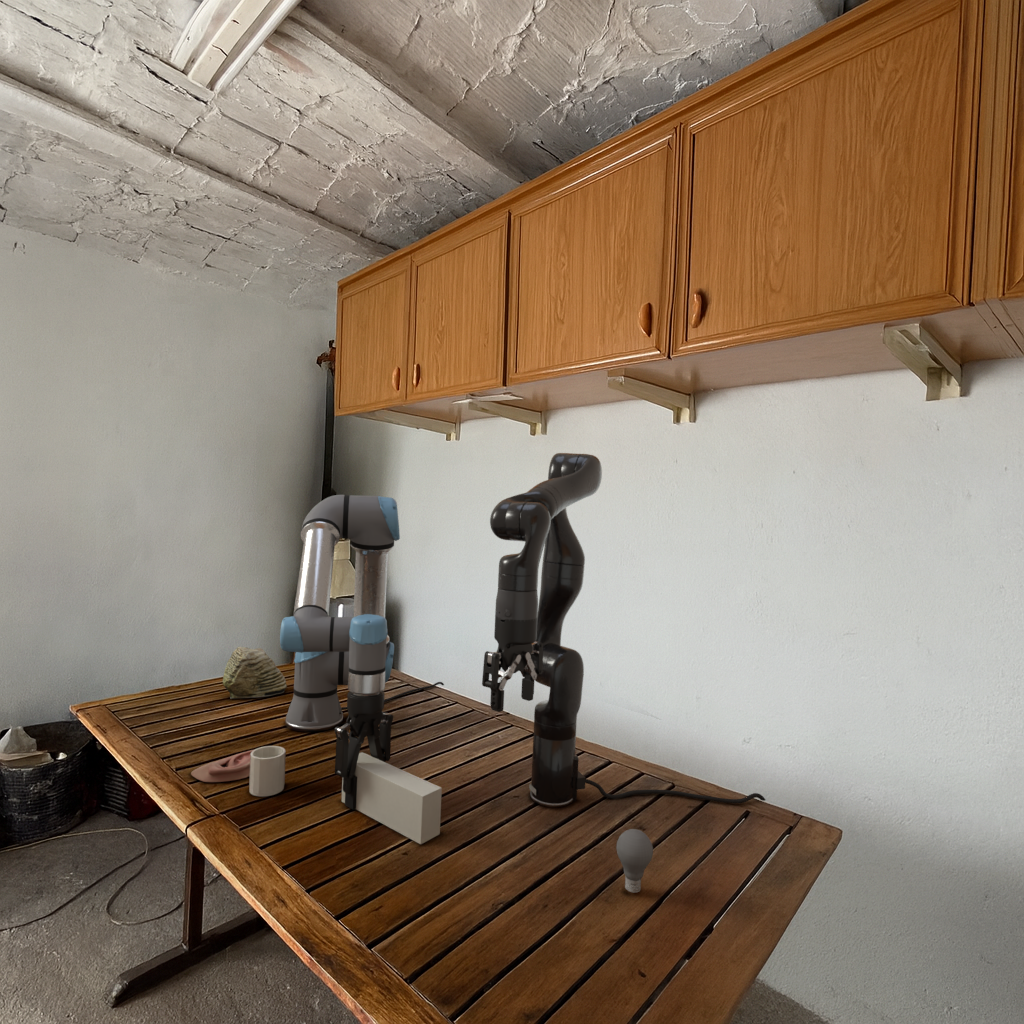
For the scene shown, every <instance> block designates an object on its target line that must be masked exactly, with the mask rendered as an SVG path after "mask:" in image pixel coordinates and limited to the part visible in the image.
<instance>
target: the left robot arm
mask: <svg viewBox="0 0 1024 1024" xmlns="http://www.w3.org/2000/svg"><path fill="white" fill-rule="evenodd" d="M300 539H301V541H302V543H303V545H302V553H301V559H300V567H299V573H298V580H297V585H296V586H297V588H296V592H295V593H296V594H295V601H294V607H293V608H294V609H293V615H291V616H286V617H283V619H282V620H281V623H280V631H279V645H280V649H281V650H282V651H283V652H289V653H295V655H294V660H293V663H294V674H293V675H294V680H293V695H292V696H293V697H292V699H291V702H290V704H289V706H288V711H287V713H286V715H285V726H286V728H287V729H289V730H291V731H294V732H295V731H296V732H301V733H316V732H325V731H329V730H332V729H334V734H335V738H336V739H335V741H336V742H335V760H334V774H335V775H336V776H338V777H340V778H341V779H342V778H343V791H344V792H345V803H344V806H345V807H347V808H349V809H350V810H356V796H357V776H355V775H354V773H355V769H356V765H357V761H358V756H359V753H361V748H362V744H364V742H365V738H366V739H367V743H368V744H367V745H368V748H369V753H370V754H369V755H370V756H372V757H374V758H376V759H379V760H381V761H383V762H385V763H387V762H390V760H391V749H392V748H391V745H392V724H393V721H394V715H393V714H391V713H388V712H385V711H383V710H384V709H385V703H387V702H390V701H392V700H394V699H397V698H400V697H402V696H405V695H407V694H410V693H415V692H419V691H423V690H427V689H431V688H434V687H436V686H438V685H441V686H445V684H444V682H443V681H438V682H435V683H434V684H432V685H431V684H430V685H427V686H423V687H418V688H413V689H409V690H406V691H403V692H401V693H398V694H396V695H392V696H391V697H388V698H386V699H385V691H384V690H385V689H386V683H388V681H389V680H390V677H391V673H392V669H393V664H394V663H393V662H394V654H395V643H394V642H392V641H390V636H389V634H388V621H387V619H386V606H387V605H386V603H387V585H388V584H387V582H388V562H389V552H390V551H391V550H392V549H394V548H395V542H397V541H400V539H401V535H400V522H399V511H398V503H397V501H396V499H395V498H393V497H389V496H380V495H360V494H359V495H357V494H356V495H355V494H354V495H353V494H336V495H334V494H333V495H331V496H328V497H326V498H324V499H323V500H321V501H319V502H318V503H317V504H315V506H313V507H312V508H311V509H310V511H309V512H308V513H307V515H306V516H305V517H304V520H303V522H302V525H301V529H300ZM340 539H345V540H347V539H348V540H350V547H351V548H352V549H353V550H354V551H355V563H354V564H355V567H354V573H355V574H354V595H353V616H329V615H330V614H329V612H330V603H331V601H330V600H331V592H332V582H333V581H332V580H333V571H334V560H335V549H336V545H338V543H339V541H340ZM338 686H347V690H348V691H349V692H347V699H346V706H341V702H340V699H339V695H338ZM344 710H347V713H348V714H347V715H348V716H347V718H346V722H345V723H344V724H343V725H342V723H343V722H344V714H343V711H344ZM340 725H342V726H340Z"/></svg>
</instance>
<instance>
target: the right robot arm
mask: <svg viewBox="0 0 1024 1024" xmlns="http://www.w3.org/2000/svg"><path fill="white" fill-rule="evenodd" d="M602 477H603V469H602V463H601V461H600V458H598V457H597V456H595V455H594V454H589V453H573V452H572V453H569V452H556V453H555V454H554V455H553V456H552V457H551V460H550V462H549V466H548V474H547V479H546V480H543V481H541V482H539V483H537V484H536V485H534V486H533V487H532V488H530V489H528V491H526V492H523V493H519V494H515V495H512V496H510V497H507V498H504V499H502V500H501V501H499V502H498V503H497V504H496V505H495V506H494V508H493V509H492V511H491V515H490V517H489V525H490V529H491V532H492V533H493V534H494V535H495V536H496V537H497V538H498V539H500V540H502V541H503V540H504V541H513V542H524V546H523V547H522V549H521V550H520V552H517V553H509V554H505V555H503V556H501V557H500V559H499V562H498V574H497V576H498V577H497V592H496V597H495V598H496V599H495V611H494V613H495V614H494V634H493V635H494V636H493V637H494V640H495V641H496V642H497V645H498V646H497V649H496V651H489V650H486V651H485V652H484V656H483V665H482V681H481V686H482V687H485V688H489V689H490V701H489V703H490V708H491V710H492V711H494V712H497V713H502V712H504V708H505V707H504V704H505V703H504V702H505V690H504V689H505V686H506V684H507V682H508V680H511V679H512V677H513V674H516V673H517V672H520V674H521V676H522V679H521V695H520V696H521V699H522V700H525V701H526V702H527V701H528V702H530V701H533V700H534V695H535V694H534V693H535V682H536V683H538V684H541V685H543V686H545V687H547V688H549V694H548V699H547V700H546V699H545V700H542V701H539V702H538V703H537V704H535V706H534V712H533V713H534V714H533V715H534V716H533V737H532V760H531V761H532V762H531V781H530V782H531V783H529V784H528V785H529V786H528V789H529V790H530V795H529V796H530V799H531V800H532V801H533V802H534V803H535V804H538V805H540V806H543V807H547V808H562V807H566V806H569V805H571V804H572V803H573V802H577V801H578V791H579V790H585V789H586V784H587V785H590V786H593V787H594V788H596V789H597V790H598V791H599V792H600V794H601V795H602V796H603V797H604V798H606V799H608V800H609V799H610V800H617V799H618V800H619V799H624V798H626V797H630V796H634V795H635V796H636V795H670V796H679V797H685V798H691V799H696V800H702V801H710V802H714V803H715V802H716V803H722V804H733V805H734V804H736V805H737V804H738V805H739V804H744V803H747V802H749V801H751V800H753V799H755V798H758V799H759V800H760V801H764V802H766V798H765V796H763V795H762V794H760V793H757V792H753V793H750V794H748V795H747V796H745V797H741V798H725V797H724V798H723V797H716V796H711V795H703V794H696V793H692V792H691V793H690V792H685V791H678V790H673V789H672V790H671V789H670V790H669V789H633V790H628V791H624V792H622V793H617V794H611V793H608V792H606V791H605V789H604V788H603V787H602V786H601V785H600V784H599V783H597V782H596V781H593V780H591V779H588V778H586V776H585V775H584V774H583V773H581V772H580V770H579V756H578V755H577V754H576V743H577V742H576V741H577V720H578V719H577V718H578V713H579V711H580V708H581V705H582V697H583V696H582V695H583V685H584V675H585V666H584V660H583V657H582V655H581V653H580V652H579V651H577V650H576V649H574V648H571V647H567V646H565V645H562V631H563V625H564V622H565V619H566V617H567V615H568V613H569V611H570V610H571V608H572V606H573V605H574V603H575V602H576V601H577V599H578V597H579V595H580V593H581V590H582V588H583V584H584V576H585V563H586V557H585V556H586V555H585V551H584V549H583V547H582V545H581V542H580V541H579V539H578V536H577V535H576V532H575V531H574V528H573V527H572V525H571V522H570V518H569V516H568V511H567V508H568V507H569V506H571V505H573V504H575V503H577V502H579V501H581V500H584V499H586V498H589V497H591V496H593V495H595V493H597V491H598V490H599V488H600V487H601V484H602V479H603V478H602ZM542 554H543V556H542ZM541 558H542V565H541V574H540V575H541V577H540V590H539V593H538V584H539V568H540V563H541ZM538 594H539V596H538ZM490 675H491V676H490ZM499 678H500V680H499ZM746 797H747V798H746Z"/></svg>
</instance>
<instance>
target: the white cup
mask: <svg viewBox="0 0 1024 1024" xmlns="http://www.w3.org/2000/svg"><path fill="white" fill-rule="evenodd" d="M252 750H253V751H252V752H251V753H250V776H248V777H249V780H248V781H249V782H248V788H249V789H248V791H249V794H250V795H252V796H255V797H270V796H274V795H275V796H276V795H277V794H279V793H281V792H282V791H284V789H285V784H286V783H285V781H286V758H287V757H286V756H287V755H286V752H287V751H286V748H284V747H283V746H279V745H265V746H261V747H257V748H255V749H252Z"/></svg>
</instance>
